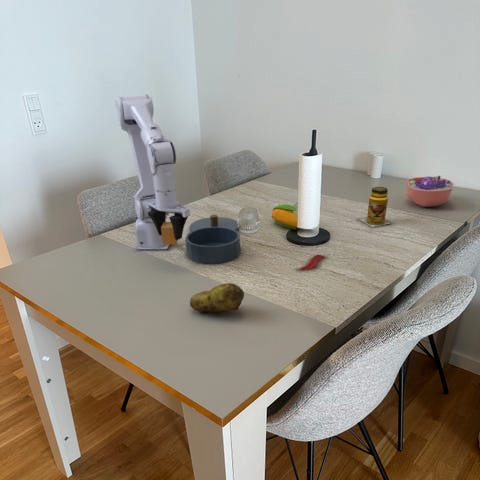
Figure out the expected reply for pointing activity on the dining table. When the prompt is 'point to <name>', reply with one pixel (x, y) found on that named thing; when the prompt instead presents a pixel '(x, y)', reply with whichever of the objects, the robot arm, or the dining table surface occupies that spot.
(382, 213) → the condiment
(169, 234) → the wooden brick
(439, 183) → the cell model
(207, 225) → the pot lid
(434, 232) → the dining table surface
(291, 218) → the corn
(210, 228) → the pot
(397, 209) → the dining table surface
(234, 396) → the dining table surface
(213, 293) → the potato
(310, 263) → the cayenne pepper
